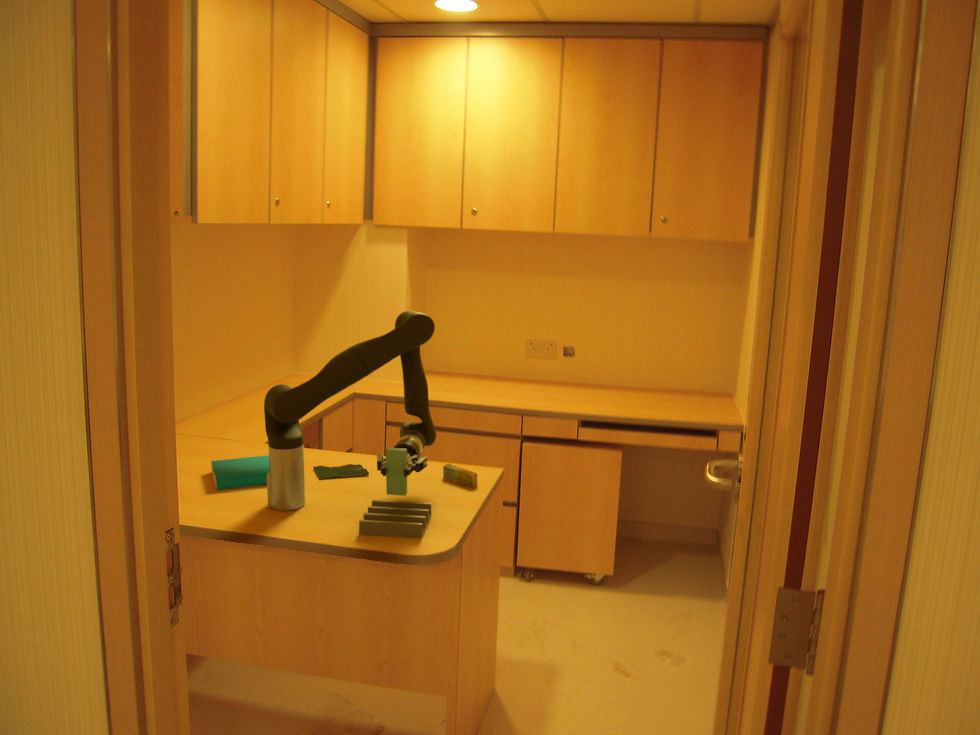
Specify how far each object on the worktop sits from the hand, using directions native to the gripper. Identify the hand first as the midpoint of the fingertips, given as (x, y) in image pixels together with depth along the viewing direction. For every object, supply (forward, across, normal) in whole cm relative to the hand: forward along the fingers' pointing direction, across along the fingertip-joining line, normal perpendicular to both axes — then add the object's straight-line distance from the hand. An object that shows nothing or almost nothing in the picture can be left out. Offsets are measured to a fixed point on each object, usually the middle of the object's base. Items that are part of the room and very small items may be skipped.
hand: (394, 472), depth 210 cm
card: (-3, 0, +7) cm, 7 cm away
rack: (-2, 0, +15) cm, 15 cm away
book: (-32, -49, +16) cm, 60 cm away
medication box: (-37, +12, +16) cm, 42 cm away
